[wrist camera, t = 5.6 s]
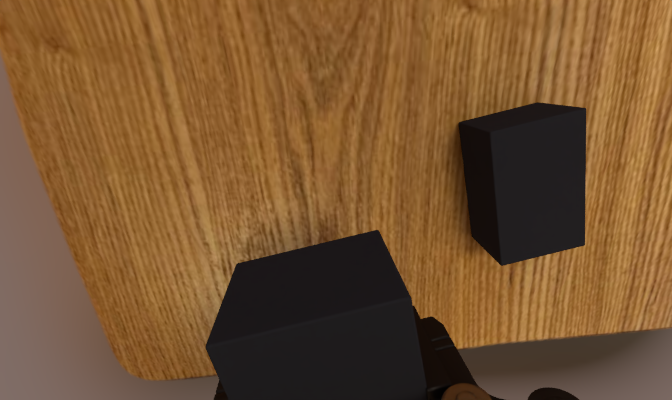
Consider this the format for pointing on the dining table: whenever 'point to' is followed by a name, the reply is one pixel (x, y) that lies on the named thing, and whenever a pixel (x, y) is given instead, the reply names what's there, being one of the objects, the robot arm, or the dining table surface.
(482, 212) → the pad
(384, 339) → the pad
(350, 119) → the dining table surface
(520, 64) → the dining table surface
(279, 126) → the dining table surface
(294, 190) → the dining table surface
